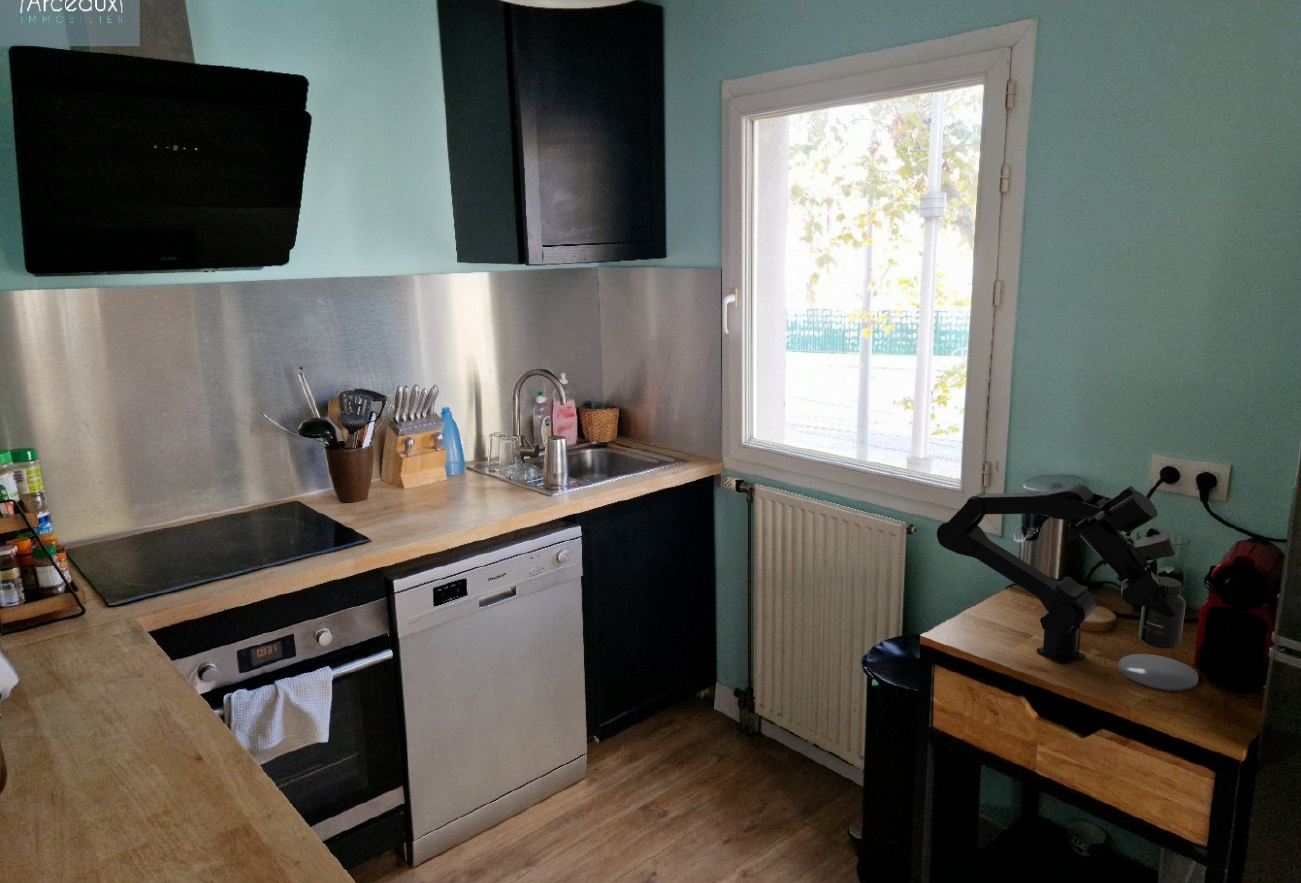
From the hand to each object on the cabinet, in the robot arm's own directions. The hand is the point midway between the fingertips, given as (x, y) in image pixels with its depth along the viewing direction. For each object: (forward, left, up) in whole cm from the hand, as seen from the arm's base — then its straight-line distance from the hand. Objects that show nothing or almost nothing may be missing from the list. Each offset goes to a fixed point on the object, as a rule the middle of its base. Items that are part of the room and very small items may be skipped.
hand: (1171, 609), depth 163 cm
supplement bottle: (-1, +1, -7) cm, 7 cm away
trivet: (-1, +1, -13) cm, 13 cm away
